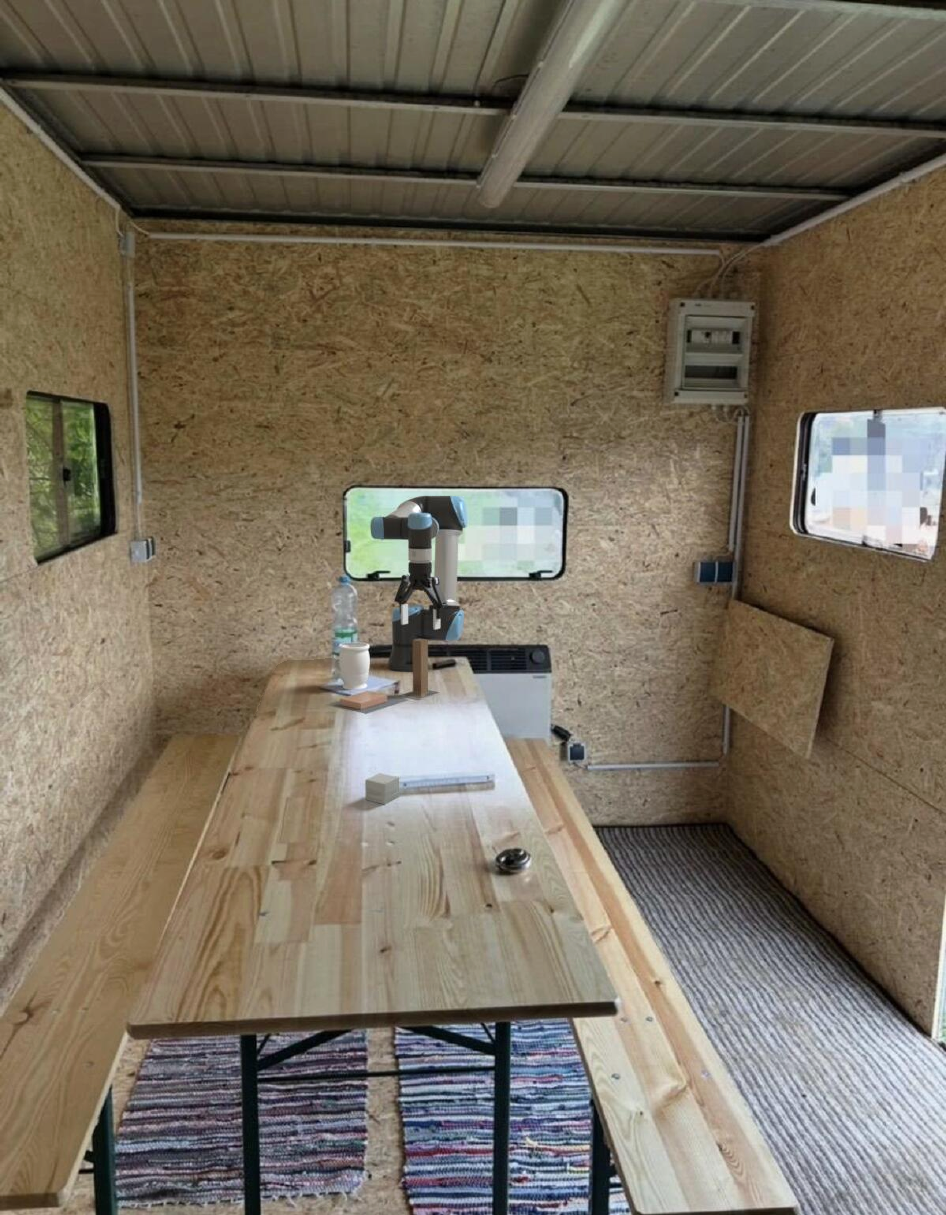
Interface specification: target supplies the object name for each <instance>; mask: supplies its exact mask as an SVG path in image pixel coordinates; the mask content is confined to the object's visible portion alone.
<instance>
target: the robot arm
mask: <svg viewBox="0 0 946 1215" xmlns="http://www.w3.org/2000/svg"><path fill="white" fill-rule="evenodd" d="M467 527H468V513H467V507H466V502H465V500H464V498H463V497H462V496H459V495H458V496H456V495H419V496H415V497H412V498H409V499H408V500H405V501H403V502H402V503H400V504H399V505H398V506H397V508H396V510H394V511H393V512H390V513H389V514H388V515H385V516H382V515H380V516H374V517H372V518H371V521H370V528H369V530H370V536H371V537H372V538H373V539H374V540H380V541H383V540H391V541H392V540H393V541H394V540H397V541H398V540H399V541H400V540H405V541H406V540H407V541H408V542H407V543H408V547H407V548H408V551H407V552H408V554H407V555H408V561H409V562H408V564H407V566H408V568H407V569H408V574H402V575H401V581H400V584H399V587H398V589H397V591H396V593H395V597H394V603H398V605H399V607H396V608H395V609H394V610H392V615H391V616H392V617H391V618H392V619H391V623H392V624H391V625H392V626H391V628H392V629H391V630H392V633H391V634H392V648H391V651H390V654H389V659H388V661H387V667H388V669H390V670H393V671H400V672H413V640H415V639H419V638H420V639H427V640H428V641H430V642H431V641H437V642H455V641H458V640H460V638H461V636H462V633H463V629H464V622H465V611H464V610H463V609H461V605H460V603H458V600H457V595H458V594H457V592H458V591H457V589H458V562H459V561H458V559H459V556H458V554H459V537H460V536H461V535H462V534H463V532H464V531H463V529H466V528H467ZM433 539H435V541H434V542H435V543H434V568H432V567H433V563H432V559H433V551H432V550H433V548H432V542H433V541H432V540H433ZM432 570H433V572H432ZM432 573H433V574H434V575H433V577H432V575H431V574H432ZM415 591H421V592H422V591H423V593H425V594H426V595H427V597H428V598H429V601H431V602H430V603H429V604H428V608H427V609H425V607H424V605H422V604H411V605H410V604H408V601H409V599H410V598H411V596H413V593H414V592H415Z"/></svg>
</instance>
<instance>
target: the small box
mask: <svg viewBox="0 0 946 1215" xmlns="http://www.w3.org/2000/svg"><path fill="white" fill-rule="evenodd" d="M364 784H365V800H366V801H369V802H375V803H376V804H377V803H378V804H382V805H387V804H389V803H390V802H393V801H394V800H396V799H399V797H400V777H399V776H394V775H389V774H385V773H382V772H381V773H377V774H374V775H373V776H371V777H369V778H367V779H365V782H364Z"/></svg>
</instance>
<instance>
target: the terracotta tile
mask: <svg viewBox="0 0 946 1215" xmlns="http://www.w3.org/2000/svg"><path fill="white" fill-rule="evenodd" d="M378 693H379V692H378ZM378 693H377V692H374V691H368V690H365V691H362V692H359V693H355V694H351V695H348V696H345V697H344V696H343V697H340V698H339V701H340V705H343V706H347V707H352V708H356V709H360V710H361V709H365V708H368V707H371V706H374V705H377V704H380V703H384V702H387V695H388V694H384V693H383V694H384V695H383V694H382V693H379V694H378Z"/></svg>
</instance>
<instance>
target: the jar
mask: <svg viewBox="0 0 946 1215" xmlns="http://www.w3.org/2000/svg"><path fill="white" fill-rule="evenodd" d="M338 648H339V650H340V652H339V655H338V665H339V667H338V668H339V672H340V677H341V680H342V682H343V685H342V688H343V689H345V690H354V691H356V690H365V689H366V688H367V687H368V684H367V681H368V678H369V671H370V665H371V661H370V652H369V649H370V644H369V643H367V642H361V641H360V642H357V641H355V642H354V641H353V642H343V643H340V644H339V645H338Z"/></svg>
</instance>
